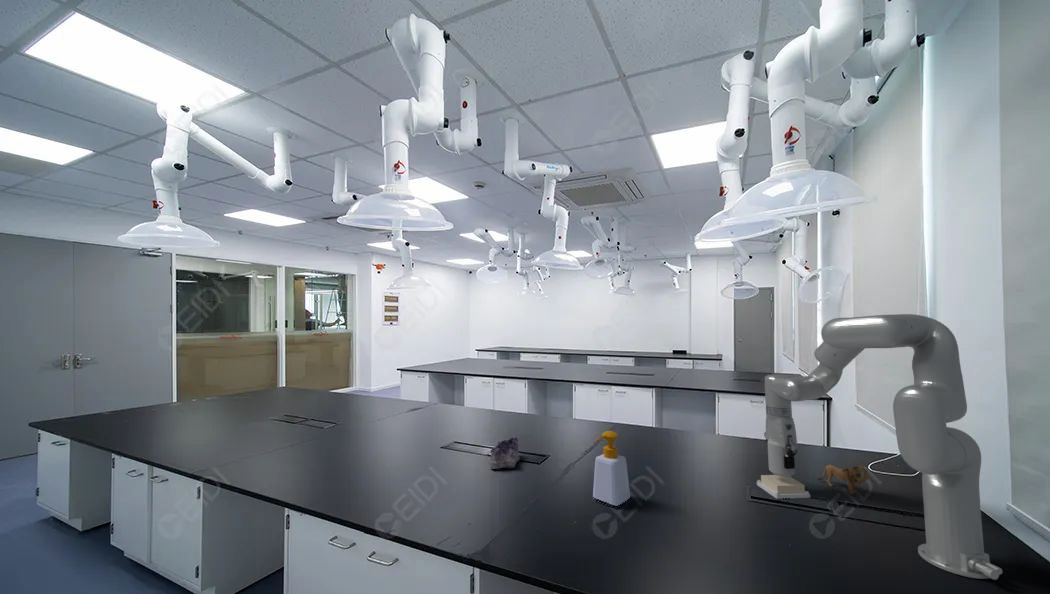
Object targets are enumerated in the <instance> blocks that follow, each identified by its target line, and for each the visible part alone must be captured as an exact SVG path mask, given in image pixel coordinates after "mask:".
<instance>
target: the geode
mask: <svg viewBox="0 0 1050 594" xmlns="http://www.w3.org/2000/svg"><path fill="white" fill-rule="evenodd" d="M490 453H491V454H490V458H489V468H490V467H491V468H490V469H492V468H493V469H496V470H498V469H499V470H501V469H500V468H508V469H515V468H516V465H517V464H518V463H519V462H520V461H521V458H520V454H519V439H518V437H510V438H509V439H507V440H506V439H504V440H502V441H498V442H497V445H496V446H494V447H492V448H491V449H490ZM519 460H520V461H519ZM518 461H519V462H518ZM517 462H518V463H517Z"/></svg>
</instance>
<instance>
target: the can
mask: <svg viewBox="0 0 1050 594" xmlns="http://www.w3.org/2000/svg"><path fill="white" fill-rule="evenodd" d="M769 438H770V439H769V440H768V447H767V456H768V458H767V461H768V469H769V471H770V472H771V473H772V475H778V476H782V477H791V478H792V476H794V475H795V474H796V467H795V468H794V469H785V468H784V456H785V454H784V451H783V448H782V447H781V446H780V445H779V443H778V442H777V441H778V440H775V439H772V438H771V437H769ZM787 446H790V445H789V444H786V447H787ZM789 450H790V449H787V452H788V451H789Z"/></svg>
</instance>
